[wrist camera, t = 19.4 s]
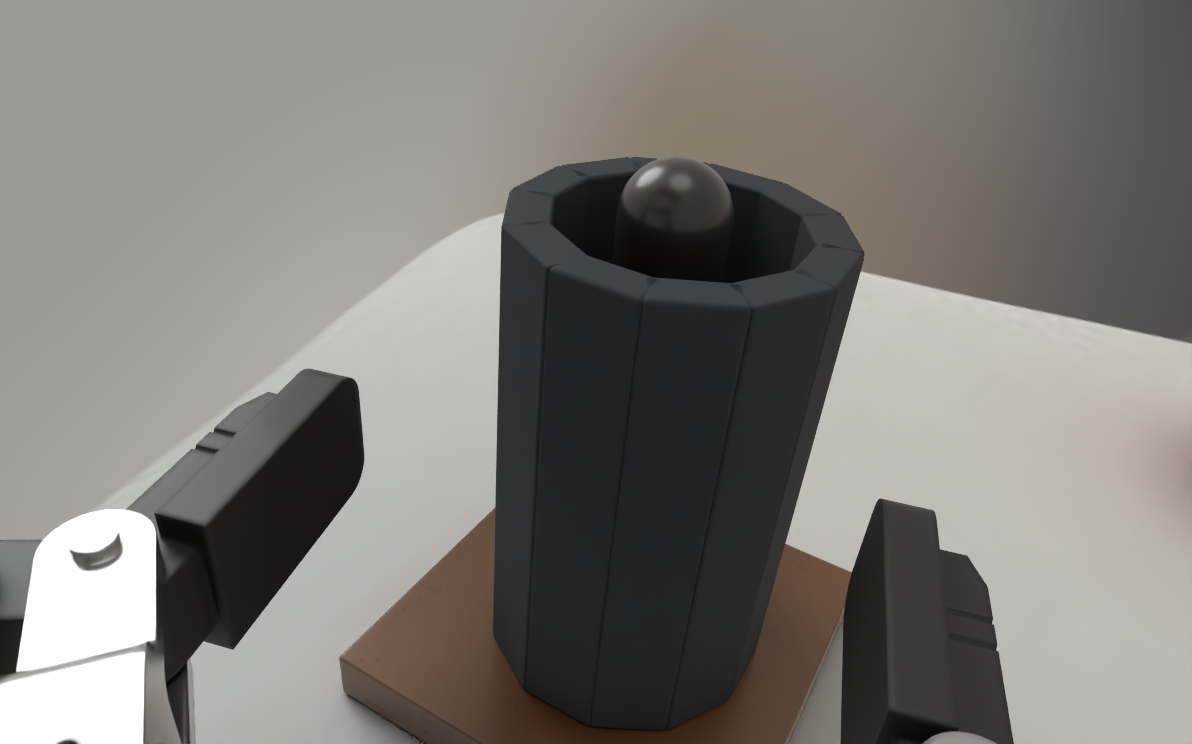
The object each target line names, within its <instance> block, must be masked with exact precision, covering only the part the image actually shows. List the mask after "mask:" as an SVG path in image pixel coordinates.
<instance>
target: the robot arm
mask: <svg viewBox="0 0 1192 744" xmlns="http://www.w3.org/2000/svg"><path fill="white" fill-rule="evenodd" d="M363 465H364V447H363V435H362V423H361V411H360V400H359V390H358V386H357V383H356V381H355V380H354V379H352V378H349V377H344V376H340V375H335V374H331V373H326V372H322V371H318V370H313V369H304V370H302V371H301V372H300V373H299V374H297V375H296V376H295V377H294V378H293V379H292V380H291V381H290V382H289V383H288V384H287V385H286V386H285V387H284V388H283V389H282V390H281V391H280V392H279V393H278V394H274V393H270V392H267V393H265V394H263V395H261V396H259V397H257V398H255V399H253V400H251V401H249V402H247V403H245V404H242V405H240V406H238V407H236V408H235V409H234V410H233V411H232V412H231V413H230V414H229V415H228V416H227V417H226V418H225V419H223V420H222V421H221V422H220V423H219V424H218V425H217V426H216V427H215V428H214V432H213V433H212V432H209V433H208V434H207V435H206V436H205V437H204V438H203V439H202V440H201V441H200V442H199V443H197V444H196V448H195V450H194V449H191V450H190V451H189V452H188V453H187V454H186V455H185V456H183V457H182V458H181V459H180V460H179V461H178V462H177V463H176V464H175V465H174V466H173V467H172V468H170V469H169V470H168V471H167V472H166V473H165V474H164V475H163V476H162V477H161V478H160V479H159V480H157V481H156V482H155V483H154V484H153V485H152V486H151V487H150V488H149V489H148V490H147V491H146V492H144V493H143V494H142V495H141V496H140V497H139V498H138V499H137V500H136V501H135V502H134V503H133V504H131V505H130V506H129V507H128V508H127V509H126V510H122V509H108V510H101V511H96V512H92V513H88V514H85V515H82V516H79V517H76V518H74V519H72V520H70V521H68V522H66V523H64V524H62V525H61V526H59V527H58V528H56V529H55V530H54V531H52V532H51V533H50V534H49V535H48V536H47V537H46V538H45V539H44V540H0V744H196V741H195V714H194V688H193V668H192V663H191V659H190V657H191V656H192V655H193V653H194V652H195V651H196V650H197V649H198V647H199V646H200V645H201V644H202V642H203V641H205V642H209V643H212V644H215V645H219V646H222V647H226V648H229V649H234V648H235V647H236V645H237V644H238V643H239V641H240V640H241V639H242V637H243V636H244V635H245V634H246V632H247V631H248V630H249V628H250V627H251V626H252V624H253V623H254V622H255V621H256V619H257V618H258V617H259V615H260V614H261V613H262V611H263V610H264V609H265V607H266V606H267V605H268V604H269V602H270V601H271V600H272V598H273V597H274V596H275V594H276V593H277V592H278V591H279V589H280V588H281V587H282V585H283V584H284V583H285V581H286V580H287V579H288V577H289V576H290V575H291V574H292V572H293V571H294V570H295V568H296V567H297V566H298V564H299V563H300V562H301V561H302V559H303V558H304V557H305V555H306V554H307V553H308V551H309V550H310V549H311V547H312V546H313V545H314V544H315V542H316V541H317V540H318V538H319V537H320V536H321V534H322V533H323V532H324V531H325V529H326V528H327V527H328V525H329V524H330V523H331V521H332V520H333V519H334V517H335V516H336V515H337V514H338V512H339V511H340V510H341V508H342V507H343V506H344V504H345V503H346V502H347V501H348V499H349V498H350V497H351V495H352V494H353V492H354V491H355V489H356V487H357V485H358V483H359V480H360V477H361V474H362V470H363ZM992 620H993V616H992V610H991V604H990V598H989V592H988V587H987V585H986V584H985V582H984V581H983V579H982V578H981V576H980V575H979V573H978V572H977V570H976V568H975V567H974V565H973V564H972V562H971V561H970V559H969V558H968V556H966V555H961V554H957V553H953V552H948V551H944V550H940V548H939V538H938V529H937V520H936V515H935V512H934V511H933V510H929V509H925V508H920V507H916V506H911V505H907V504H902V503H898V502H894V501H889V500H885V499H879V500H878V501H877V503H876V505H875V507H874V510H873V513H872V516H871V519H870V522H869V525H868V527H867V530H866V533H865V536H864V539H863V542H862V545H861V548H860V551H859V554H858V556H857V559H856V562H855V565H854V568H853V571H852V574H851V577H850V581H849V585H848V590H847V595H846V601H845V608H844V623H843V666H842V709H841V744H1014V743H1013V737H1012V731H1011V725H1010V719H1009V713H1008V707H1007V701H1006V695H1005V689H1004V683H1003V677H1002V671H1001V665H1000V659H999V652H998V651H996V647H997V640H996V634H995V628H994V625H992Z"/></svg>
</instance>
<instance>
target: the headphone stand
mask: <svg viewBox="0 0 1192 744" xmlns="http://www.w3.org/2000/svg"><path fill="white" fill-rule="evenodd" d="M733 222H734V207H733V201H732V197H731V194H730V192H729V190H728V188H727V186H726V184H725V182H724V181H723V179H722V178H721V177H720V176H719V175H718V174H717V173H716V172H715V171H714V170H713V169H712V168H710V167H709V166H708V165H706V164H704V163H702V162H700V161H698V160H696V159H692V158H688V157H681V156H671V157H665V158H661V159H657V160H655V161H652V162H650V163H648V164H647V165H645V166H643V167H642V168H641V169H639V170H638V171H637V172H636V173H635V174H634V175H633V176H632V177H631V178H630V180H629V181H628V182H627V184H626V185H625V187H624V189H623V191H622V194H621V196H620V199H619V202H618V208H617V218H616V228H615V238H614V248H613V258H612V264H614V265H617V266H620V267H623V268H626V269H629V270H632V271H635V272H638V273H641V274H644V275H647V276H650V277H653V278H665V279H679V280H692V281H706V282H720V283H723V278H724V273H725V267H726V262H727V256H728V251H729V245H730V240H731V234H732V228H733ZM495 508H496V507H495ZM495 508H494V509H493V510H492V511H491V512H490V513H489V514H488V515H487V516H486V517H485V518H484V519H483V520H482V521H481V522H480V523H479V524H478V525H477V526H476V527H475V528H474V529H472V530H471V531H470V532H469V533H468V534H467V535H466V536H465V537H464V538H463V539H462V540H461V541H460V542H459V543H458V544H457V545H456V546H455V547H454V548H453V549H452V550H451V551H450V552H449V553H447V554H446V555H445V556H444V557H443V558H442V559H441V560H440V561H439V562H438V563H437V564H436V565H435V566H434V567H433V568H432V569H431V570H430V571H429V572H428V573H427V574H426V575H425V576H424V577H422V578H421V579H420V580H419V581H418V582H417V583H416V584H415V585H414V586H413V587H412V588H411V589H410V590H409V591H408V592H407V593H406V594H405V595H404V596H403V597H402V598H401V599H400V600H399V601H398V602H396V603H395V604H394V605H393V606H392V607H391V608H390V609H389V610H388V611H387V612H386V613H385V614H384V615H383V616H382V617H381V618H380V619H379V620H378V621H377V622H376V623H375V624H374V625H373V626H371V627H370V628H369V629H368V630H367V631H366V632H365V633H364V634H363V635H362V636H361V637H360V638H359V639H358V640H357V641H356V642H355V643H354V644H353V645H352V646H351V647H350V648H349V649H348V650H346V651H345V652H344V653H343V654H342V655H341V656H340V658H339V660H340V667H341V675H342V683H343V691H344V692H345V693H347V694H348V695H350V696H352V697H353V698H355V699H356V700H358V701H359V702H361V703H363V704H364V705H366V706H367V707H369V708H371V709H372V710H374V711H375V712H377V713H379V714H380V715H382V716H383V717H385V718H387V719H388V720H390V721H391V722H393V723H395V724H396V725H398V726H399V727H401V728H403V729H404V730H406V731H407V732H409V733H411V734H412V735H414V736H415V737H417V738H419V739H420V740H422V741H423V742H425V743H427V744H788V743H789V741H790V739H791V736H792V734H793V732H794V729H795V727H796V725H797V722H798V720H799V718H800V715H801V713H802V711H803V708H804V706H805V704H806V702H807V699H808V697H809V695H810V692H811V690H812V688H813V685H814V683H815V681H816V678H817V676H818V674H819V671H820V669H821V667H822V664H823V662H824V660H825V658H826V655H827V653H828V651H829V648H830V646H831V644H832V641H833V639H834V637H835V634H836V632H837V630H838V627H839V625H840V623H841V621H842V618H843V616H844V608H845V601H846V595H847V590H848V585H849V581H850V577H851V574H852V572H849V571H847V570H845V569H842V568H840V567H838V566H835V565H833V564H831V563H828V562H826V561H824V560H821V559H819V558H817V557H814V556H812V555H810V554H807V553H805V552H803V551H800V550H798V549H796V548H793V547H791V546H789V545H787V544H785V546H784V550H783V553H782V557H781V561H780V564H779V568H778V571H777V575H776V579H775V582H774V586H773V589H772V593H771V597H770V600H769V604H768V608H767V611H766V615H765V618H764V622H763V626H762V629H761V633H760V636H759V640H758V644H757V647H756V651H755V653H754V655H753V657H752V659H751V661H750V662H749V664H748V666H747V668H746V670H745V672H744V674H743V675H742V677H741V679H740V681H739V683H738V685H737V687H736V689H735V690H734V692H733V694H732V696H731V697H730V698H729V699H728V700H727V702H725V703H723V704H721V705H719V706H717V707H715V708H713V709H711V710H709V711H707V712H705V713H703V714H700V715H698V716H696V717H694V718H692V719H690V720H688V721H686V722H684V723H682V724H680V725H678V726H676V727H674V728H672V729H670V730H667V729H665V730H643V729H624V728H605V727H593V726H591V725H590V724H589V725H586V724H584V723H582V722H580V721H578V720H577V719H575V718H573V717H571V716H570V715H568V714H566V713H564V712H563V711H561V710H559V709H557V708H556V707H554V706H552V705H551V704H549V703H547V702H545V701H544V700H542V699H540V698H538V697H537V696H535V695H533V694H531V693H530V692H528V691H527V690H526V689H523V688H522V686H521V684H520V682H519V681H518V679H517V677H516V675H515V673H514V672H513V670H512V668H511V666H510V665H509V663H508V661H507V659H506V658H505V656H504V654H503V652H502V651H501V649H500V647H499V645H498V643H497V642H496V640H495V638H494V633H493V600H494V554H495Z"/></svg>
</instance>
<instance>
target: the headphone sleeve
mask: <svg viewBox="0 0 1192 744" xmlns="http://www.w3.org/2000/svg"><path fill="white" fill-rule="evenodd" d="M655 160H657V159H654V158H641V157H632V158H629V157H626V158H618V159H609V160H601V161H593V162H585V163H576V164H568V165H562V166H557V167H555V168H553V169H551V170H549V171H547V172H545V173H543V174H541V175H539V176H537V177H535V178H533V179H531V180H529V181H527V182H525V183H523V184H520V185H518V186H516V187H514V188H513V190H512V191H510V193H509V197H508V202H507V206H506V211H505V214H504V219H503V223H502V231H501V277H500V323H499V369H498V415H497V461H496V508H495V554H494V600H493V633H494V638H495V640H496V642H497V643H498V645H499V647H500V649H501V651H502V652H503V654H504V656H505V658H506V659H507V661H508V663H509V665H510V666H511V668H512V670H513V672H514V673H515V675H516V677H517V679H518V681H519V682H520V684H521V686H522V688H523V689H526V690H527V691H528V692H530V693H531V694H533V695H535V696H537V697H538V698H540V699H542V700H544V701H545V702H547V703H549V704H551V705H552V706H554V707H556V708H557V709H559V710H561V711H563V712H564V713H566V714H568V715H570V716H571V717H573V718H575V719H577V720H578V721H580V722H582V723H584V724H586V725H589V724H590V725H591V726H593V727H605V728H624V729H643V730H665V729H667V730H670V729H672V728H674V727H676V726H678V725H680V724H682V723H684V722H686V721H688V720H690V719H692V718H694V717H696V716H698V715H700V714H703V713H705V712H707V711H709V710H711V709H713V708H715V707H717V706H719V705H721V704H723V703H725V702H727V700H728V699H729V698H730V697H731V696H732V694H733V692H734V690H735V689H736V687H737V685H738V683H739V681H740V679H741V677H742V675H743V674H744V672H745V670H746V668H747V666H748V664H749V662H750V661H751V659H752V657H753V655H754V653H755V651H756V647H757V644H758V640H759V636H760V633H761V629H762V626H763V622H764V618H765V615H766V611H767V608H768V604H769V600H770V597H771V593H772V589H773V586H774V582H775V579H776V575H777V571H778V568H779V564H780V561H781V557H782V553H783V550H784V546H785V543H786V539H787V535H788V532H789V528H790V524H791V521H792V517H793V514H794V510H795V506H796V503H797V499H798V496H799V492H800V488H801V485H802V481H803V477H804V474H805V470H806V467H807V463H808V459H809V456H810V452H811V449H812V445H813V441H814V438H815V434H816V430H817V427H818V423H819V420H820V416H821V412H822V409H823V405H824V402H825V398H826V394H827V391H828V387H829V383H830V380H831V376H832V373H833V369H834V365H835V362H836V358H837V355H838V351H839V347H840V344H841V340H842V336H843V333H844V329H845V326H846V322H847V318H848V315H849V311H850V308H851V304H852V300H853V297H854V293H855V289H856V286H857V282H858V279H859V275H860V271H861V268H862V264H863V261H864V251H863V249H862V248H861V246H860V244H859V243H858V241H857V239H856V237H855V236H854V234H853V232H852V231H851V229H850V227H849V225H848V224H847V222H846V220H845V219H844V217H843V216H841V214H840V213H839V212H837V211H835V210H833V209H832V208H829V207H828V206H826V205H824V204H822V203H821V202H819V201H817V200H815V199H813V198H811V197H810V196H808V195H806V194H804V193H802V192H800V191H799V190H797V189H795V188H793V187H791V186H789V185H788V184H785V183H784V184H783V183H782V182H779V181H776V180H772V179H768V178H764V177H760V176H756V175H753V174H749V173H745V172H741V171H738V170H734V169H730V168H726V167H723V166H719V165H715V164H708V163H704V164H706V165H708V166H709V167H710V168H712V169H713V170H714V171H715V172H716V173H717V174H718V175H719V176H720V177H721V178H722V179H723V181H724V182H725V184H726V186H727V188H728V190H729V192H730V194H731V197H732V201H733V207H734V222H733V228H732V234H731V240H730V245H729V251H728V256H727V262H726V267H725V273H724V278H723V283H720V282H706V281H692V280H679V279H665V278H653V277H650V276H647V275H644V274H641V273H638V272H635V271H632V270H629V269H626V268H623V267H620V266H617V265H614V264H612V258H613V248H614V238H615V228H616V218H617V208H618V202H619V199H620V196H621V194H622V191H623V189H624V187H625V185H626V184H627V182H628V181H629V180H630V178H631V177H632V176H633V175H634V174H635V173H636V172H637V171H638V170H639V169H641V168H642V167H643V166H645V165H647V164H648V163H650V162H652V161H655ZM702 163H703V162H702Z"/></svg>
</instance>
